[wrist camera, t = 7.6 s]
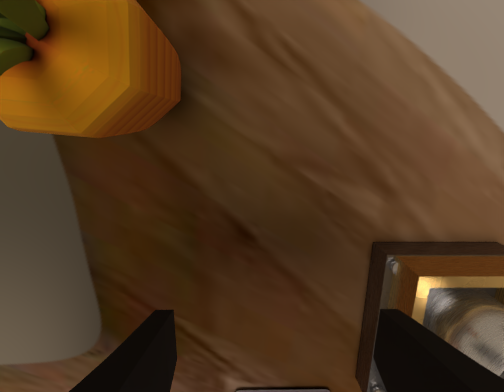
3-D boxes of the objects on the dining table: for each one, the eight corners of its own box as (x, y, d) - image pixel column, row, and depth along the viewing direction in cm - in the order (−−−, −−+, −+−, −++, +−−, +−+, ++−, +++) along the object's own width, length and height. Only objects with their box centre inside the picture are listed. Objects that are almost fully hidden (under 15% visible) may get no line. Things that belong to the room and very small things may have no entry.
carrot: (220, 71, 16) (29, -310, 2) (186, 146, 18) (-99, 249, 3) (143, 28, 16) (-1003, -1032, 1) (112, 108, 17) (-701, 12, 2)
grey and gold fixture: (462, 375, 23) (514, 435, 18) (355, 376, 23) (381, 436, 18) (497, 242, 20) (568, 275, 15) (373, 241, 20) (409, 275, 15)
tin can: (473, 329, 19) (579, 424, 13) (409, 334, 19) (485, 433, 13) (484, 252, 18) (609, 320, 12) (414, 258, 18) (503, 329, 12)
